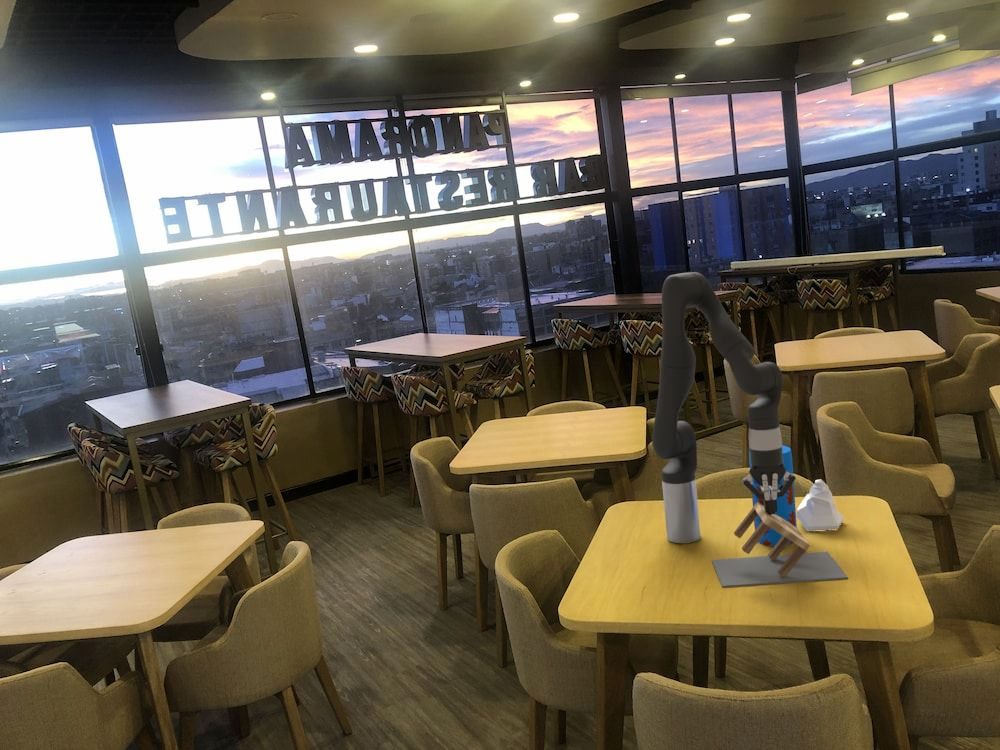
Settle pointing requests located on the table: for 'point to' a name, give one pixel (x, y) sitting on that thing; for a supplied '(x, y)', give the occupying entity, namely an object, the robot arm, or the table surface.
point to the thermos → (778, 503)
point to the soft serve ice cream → (819, 509)
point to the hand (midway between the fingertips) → (771, 513)
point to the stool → (781, 527)
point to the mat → (766, 570)
